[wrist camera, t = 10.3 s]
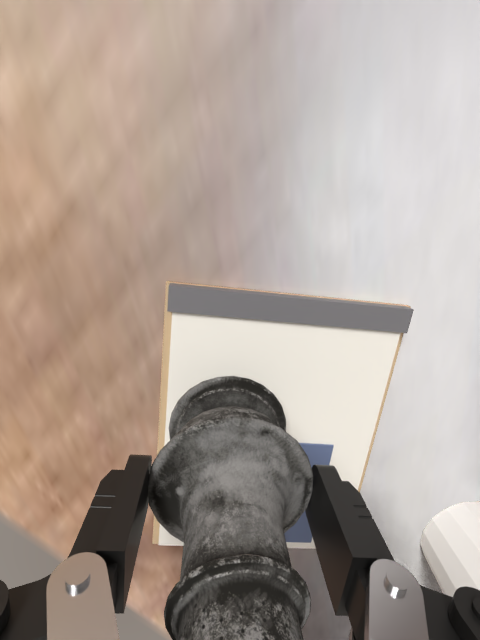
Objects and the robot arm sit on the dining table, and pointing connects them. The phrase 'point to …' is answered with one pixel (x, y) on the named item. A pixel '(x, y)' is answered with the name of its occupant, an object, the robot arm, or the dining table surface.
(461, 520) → the shot glass
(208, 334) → the order pad
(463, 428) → the dining table surface
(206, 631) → the dark grey chess bishop
